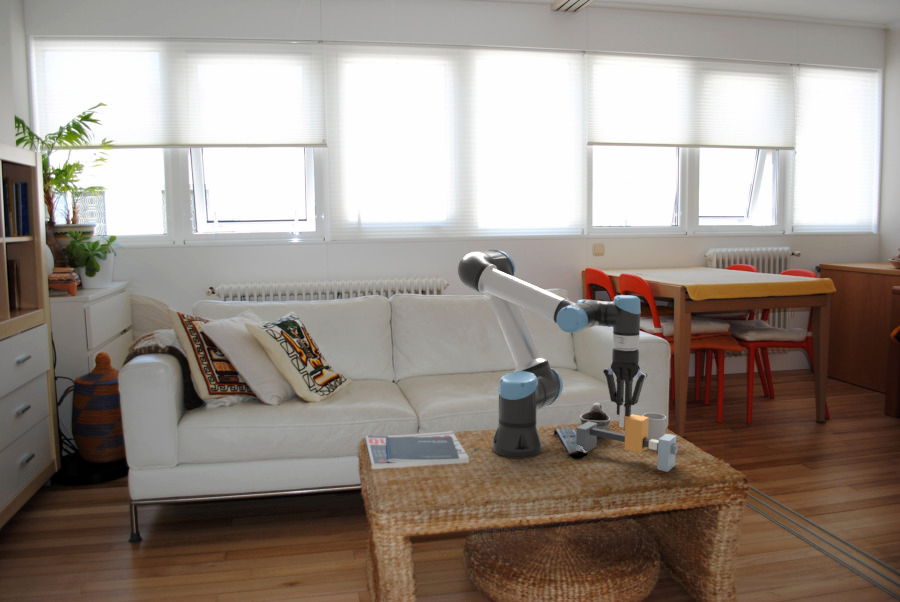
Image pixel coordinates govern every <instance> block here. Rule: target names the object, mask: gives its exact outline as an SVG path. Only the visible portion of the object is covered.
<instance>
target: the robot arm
mask: <svg viewBox="0 0 900 602" xmlns="http://www.w3.org/2000/svg"><path fill="white" fill-rule="evenodd" d="M515 272H516V265H515V262H514V259H513V258H512V256H510V255H509V254H508V253H507V252H506V251H503V250H497V249H490V250H489V249H488V250H479V251H477V250H475V251H471V252H469V253H466V254H464V256H463V257H462V258H461V259H460V261H459V262H458V266H457V275H458V277H459V279H460V281H461V282H462V283H463V285H465V287H468V288H470V289H472V290H473V291H476V292H478V293H480V294H481V295H482V296H483V297H485V298H486V299H488V300H489V302H490V304H491V306H492V309H493V313H494V314H495V316H496V319H497V322H498V324H499V327H500V329H501V331H502V334H503V337H504V339H505V342H506V344H507V347H508V349H509V352H510V354H511V357H512V359H513V361H514V364H515V370H514V371H512V372H508V373H505V374H503V375H502V376H501V377H500V379H499V385H498V389H497V392H498V424H497V425H498V426H497V427H496V431H495V433H494V436H493V438H492V445H491V446H492V451H493V452H494V453H495V454H497V455H500V456H502V457H506V458H507V457H508V458H511V459H513V458H514V459H526V458H531V457H532V458H533V457H536V456H538V455H540V454H541V453H542V451H543V449H542V448H543V446H542V445H543V444H542V440H541V438H540V433H539V429H538V427H537V419H538V418H537V417H538V414H537V413H538V411H539V410H540V409H543V408H545V407H547V406H549V405H552V404H553V403H555V402H556V401H557V400H558V399H559V398H560V397H561V395H562V393H563V389H564V383H563V379H562V376H561V375H560V372H559V371H557V370H556V369H554V368H552V367H551V366H550V362H549V361H548V359H546V358H544V357H543V356H542V355H541V353H540V351H539V348H538V346H537V344H536V341H535V339H534V336H533V334H532V332H531V329H530V326H529V323H528V322H527V320H526V317H525V314H524V312H523V309H524V310H527V311H529V312H531V313H532V314H535V315H537V316H540V317H542V318H544V319H547V320H549V321H551V322H552V323H555V324H557V326H558V328H559V329H560V330H561V331H563V332H565V333H569V334H571V333H578V332H581V331H584V330H586V329H590V328H592V327H599V326H600V327H608V328H611V327H612V330H613V331H612V347H614V348H612V354H611V355H612V358H611V359H612V362H611V364H610V366H609V367H607V368H604V369H603V374H604V376H605V378H606V382H607V387H608V388H607V389H608V393H609V398H610V401H611V402H613V403H615V404H616V415H618V416H619V417H618V418H619V419H618V423H619V424H618V427H619V428H623V429H624V428H625V424H626V418H627V417H629V416H630V415H632V406H635V405H637V404H638V402H639V398H640V394H641V392H642V388H643V386H644V381H645V380H646V379H647V377H648V373H645V372H643V371H641V369H640V364H639V362H640V359H639V357H640V350H639V348H640V333H641V332H640V325H641V313H642V311H641V299H640V297H638V296H636V295H628V294H627V295H625V294H620V295H619V294H618V295H615V296H614V297H613V301H606V300H595V299H589V298H587V299H578V300H577V301H576V302H574V301H571V300H569V299H567V298H564V297H563V296H560V295H557V294H555V293H553V292H552V291H549V290H546V289H544V288H540V287H539V286H537V285H534V284H533V283H532V284H531V283H529V282H527V281H525V280H522V279H520V278H517V277H516V276H515ZM614 375H615V377H616V379H615V378H614ZM635 377H636V378H637V380H636V382H635V386H634V388H633V383H634V379H635ZM615 380H616V382H615ZM633 389H634V390H633Z"/></svg>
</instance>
